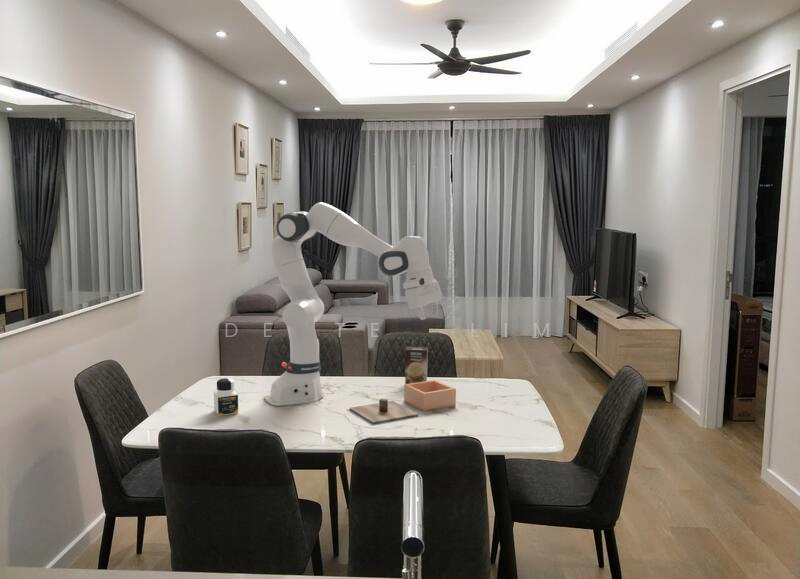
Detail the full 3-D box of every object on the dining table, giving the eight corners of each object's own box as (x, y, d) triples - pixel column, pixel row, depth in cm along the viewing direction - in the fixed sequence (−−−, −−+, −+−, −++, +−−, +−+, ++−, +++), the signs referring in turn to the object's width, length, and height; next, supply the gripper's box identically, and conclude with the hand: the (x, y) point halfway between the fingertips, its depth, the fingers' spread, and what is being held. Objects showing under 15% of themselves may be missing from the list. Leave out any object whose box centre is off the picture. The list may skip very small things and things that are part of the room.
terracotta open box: (423, 412, 235) (424, 393, 234) (404, 402, 247) (404, 384, 246) (455, 406, 242) (455, 388, 241) (434, 397, 254) (435, 379, 253)
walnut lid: (373, 424, 220) (373, 410, 219) (349, 409, 235) (349, 397, 234) (418, 416, 229) (418, 403, 228) (392, 402, 244) (392, 390, 244)
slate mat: (371, 427, 218) (371, 425, 218) (345, 411, 235) (345, 409, 235) (422, 418, 228) (422, 416, 228) (393, 403, 246) (393, 401, 245)
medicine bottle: (218, 416, 228) (217, 383, 227) (214, 410, 235) (213, 378, 233) (238, 413, 232) (237, 380, 230) (233, 407, 238) (233, 376, 237)
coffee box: (404, 387, 267) (404, 349, 265) (405, 383, 273) (406, 346, 271) (426, 388, 266) (427, 350, 264) (427, 384, 272) (428, 347, 270)
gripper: (427, 277, 244) (435, 312, 245) (400, 285, 227) (408, 323, 227) (441, 274, 241) (449, 310, 242) (415, 282, 223) (424, 321, 224)
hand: (429, 317), depth 234 cm, fingers open, 8 cm apart
